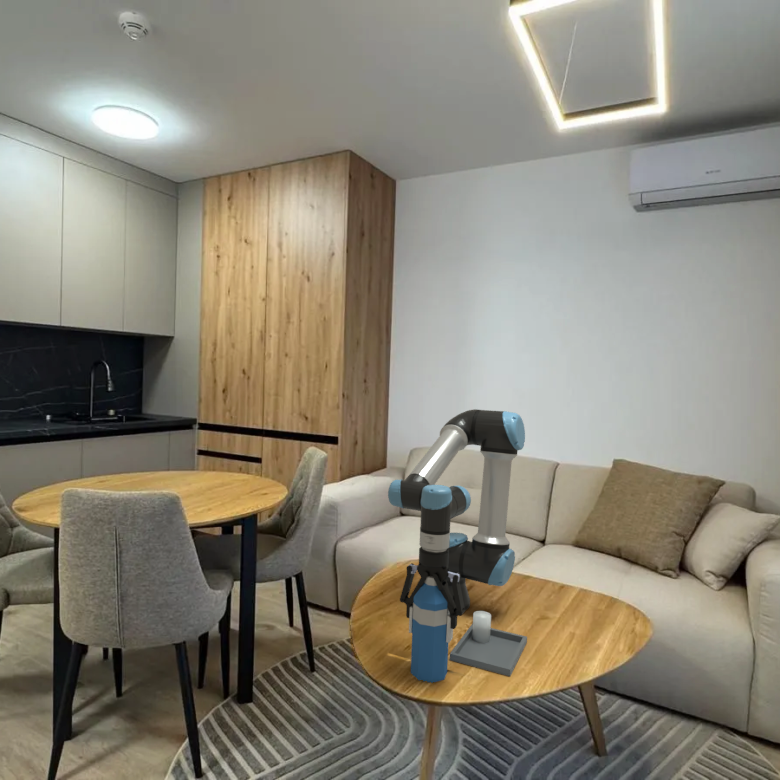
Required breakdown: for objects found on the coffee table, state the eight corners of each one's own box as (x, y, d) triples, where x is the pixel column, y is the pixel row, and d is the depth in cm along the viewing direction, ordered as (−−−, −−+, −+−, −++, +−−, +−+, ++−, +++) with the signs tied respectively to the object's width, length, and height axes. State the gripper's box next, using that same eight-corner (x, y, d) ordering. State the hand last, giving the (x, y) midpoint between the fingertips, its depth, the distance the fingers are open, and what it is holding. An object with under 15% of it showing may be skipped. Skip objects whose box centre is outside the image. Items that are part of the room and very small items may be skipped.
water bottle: (408, 662, 145) (412, 568, 144) (443, 662, 146) (447, 568, 145) (413, 683, 136) (417, 582, 135) (450, 682, 137) (454, 582, 136)
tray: (449, 662, 146) (449, 653, 146) (472, 631, 164) (472, 623, 164) (510, 679, 139) (510, 669, 139) (526, 645, 157) (527, 636, 157)
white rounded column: (469, 640, 157) (471, 616, 157) (475, 633, 162) (476, 609, 161) (487, 644, 155) (488, 620, 155) (492, 637, 159) (493, 613, 159)
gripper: (388, 544, 141) (384, 631, 142) (472, 560, 132) (467, 653, 132) (400, 536, 148) (397, 619, 149) (481, 551, 138) (477, 639, 139)
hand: (430, 635), depth 141 cm, fingers open, 9 cm apart
